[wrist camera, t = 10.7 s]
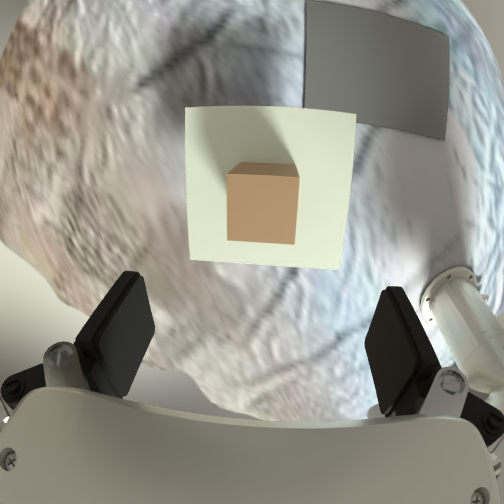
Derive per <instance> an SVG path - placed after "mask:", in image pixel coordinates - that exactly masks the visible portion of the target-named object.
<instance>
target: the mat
mask: <svg viewBox="0 0 504 504" xmlns="http://www.w3.org/2000/svg"><path fill="white" fill-rule="evenodd" d="M448 97H449V36H447V35H445V34H443V33H440V32H438V31H435V30H432V29H430V28H427V27H424V26H421V25H419V24H416V23H413V22H410V21H406V20H403V19H400V18H397V17H393V16H390V15H386V14H382V13H378V12H374V11H370V10H366V9H361V8H356V7H351V6H346V5H340V4H334V3H327V2H320V1H311V0H307V1H306V71H305V99H304V108H307V109H318V110H328V111H337V112H344V113H352V114H356V123H363V124H369V125H375V126H381V127H386V128H391V129H396V130H401V131H406V132H411V133H415V134H420V135H424V136H428V137H432V138H436V139H440V140H443V141H444V140H445V132H446V123H447V112H448Z"/></svg>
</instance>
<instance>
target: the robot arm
mask: <svg viewBox="0 0 504 504" xmlns="http://www.w3.org/2000/svg"><path fill="white" fill-rule="evenodd" d="M487 301H488V295H481V294H480V293H479V291H478V290H477V280H476V277H475V275H474V274H473V273H472V271H471V270H469V269H468V268H466V267H453V268H451V269H448V270H446V271H444V272H443V273H441V274H440V275H439V276H437V277H436V278H435V279H434V280H433V281H432V282H431V283H430V285H429V286H428V287H427V289H426V290H425V292H424V294H423V296H422V299H421V303H420V310H421V314H422V316H423V318H424V319H425V321H426V322H428V323H430V324H433V325H437V326H438V328H439V330H440V332H441V334H442V335H443V337H444V339H445V341H446V343H447V345H448V347H449V349H450V351H451V353H452V355H453V357H454V359H455V361H456V363H457V366H458V368H459V370H458V369H456V368H453V367H444V368H441V366H440V363H439V360H438V358H437V356H436V354H435V352H434V349H433V347H432V345H431V343H430V341H429V339H428V337H427V335H426V332H425V330H424V328H423V326H422V324H421V322H420V320H419V318H418V316H417V314H416V312H415V311H414V309H413V307H412V305H411V303H410V301H409V299H408V297H407V295H406V294H405V292H404V290H403V288H402V287H398V286H388V287H387V288H386V290H383V291H382V292H381V295H380V298H379V301H378V304H377V307H376V310H375V313H374V316H373V319H372V322H371V324H370V327H369V330H368V333H367V335H366V338H365V350H366V353H367V357H368V361H369V365H370V369H371V373H372V377H373V381H374V385H375V389H376V394H377V398H378V402H379V407H380V411H381V413H382V414H385V418H375V419H362V420H347V421H324V422H287V421H262V420H248V419H236V418H225V417H217V416H209V415H202V414H195V413H188V412H182V411H177V410H171V409H165V408H161V407H156V406H151V405H146V404H142V403H138V402H133V401H129V400H124V399H122V398H123V396H126V395H127V394H128V392H129V390H130V387H131V385H132V383H133V380H134V378H135V375H136V373H137V371H138V368H139V366H140V364H141V362H142V359H143V357H144V355H145V353H146V350H147V348H148V346H149V344H150V342H151V339H152V337H153V335H154V332H155V324H154V321H153V317H152V313H151V308H150V304H149V300H148V296H147V291H146V287H145V282H144V278H143V276H140V274H139V272H134V271H124V272H123V273H122V274H121V276H120V277H119V278H118V280H117V281H116V282H115V283H114V285H113V286H112V287H111V289H110V290H109V291H108V293H107V294H106V296H105V297H104V298H103V300H102V301H101V302H100V304H99V305H98V307H97V308H96V309H95V311H94V312H93V314H92V315H91V316H90V318H89V319H88V321H87V322H86V324H85V325H84V327H83V328H82V330H81V331H80V333H79V334H78V335H77V337H76V338H75V339H76V341H75V342H74V344H72V343H69V342H58V343H55V344H53V345H52V346H51V347H49V348H48V349H47V350H46V352H45V354H44V357H43V363H42V364H39V365H37V366H34V367H32V368H29V369H27V370H24V371H21V372H19V373H16V374H14V375H11V376H10V377H8V378H7V379H6V380H5V381H4V383H3V384H2V387H1V394H0V504H504V328H503V327H502V325H501V324H500V322H499V321H498V320H497V318H496V316H495V315H494V314H493V312H492V311H491V309H490V308H489V307H488V305H487V304H486V303H485V302H487ZM469 387H470V388H472V389H473V390H476V391H479V392H484V393H489V394H490V395H489V397H488V398H487V399H486V400H485V401H483V400H482V399H480V398H478V397H476V396H475V395H473V394H471V393H470V392H468V388H469Z"/></svg>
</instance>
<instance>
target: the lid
mask: <svg viewBox="0 0 504 504" xmlns="http://www.w3.org/2000/svg"><path fill="white" fill-rule="evenodd" d="M355 132H356V114H352V113H344V112H337V111H328V110H318V109H307V108H294V107H276V106H204V107H186V108H185V163H186V195H187V216H188V233H189V249H190V260H201V261H215V262H229V263H243V264H257V265H272V266H287V267H302V268H318V269H334V270H339V266H340V260H341V254H342V248H343V242H344V235H345V228H346V221H347V214H348V206H349V198H350V189H351V180H352V170H353V159H354V146H355Z"/></svg>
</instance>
